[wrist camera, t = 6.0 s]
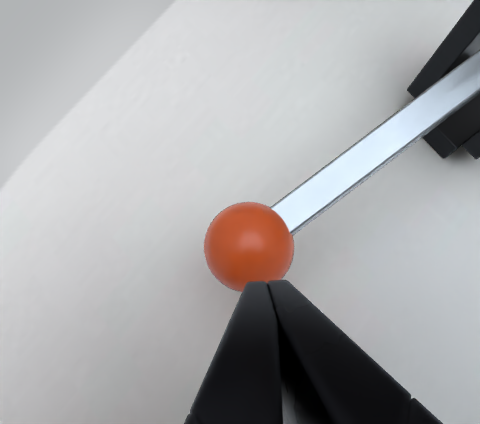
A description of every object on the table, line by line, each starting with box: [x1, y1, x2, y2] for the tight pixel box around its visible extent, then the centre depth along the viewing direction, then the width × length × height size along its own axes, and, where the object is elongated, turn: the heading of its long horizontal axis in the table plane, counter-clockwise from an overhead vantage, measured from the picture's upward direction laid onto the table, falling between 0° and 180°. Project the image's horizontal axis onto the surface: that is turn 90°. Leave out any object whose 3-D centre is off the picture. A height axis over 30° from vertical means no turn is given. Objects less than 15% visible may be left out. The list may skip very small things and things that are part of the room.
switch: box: [204, 50, 480, 292], centre depth 12 cm, size 18×3×3 cm, turn 126°
